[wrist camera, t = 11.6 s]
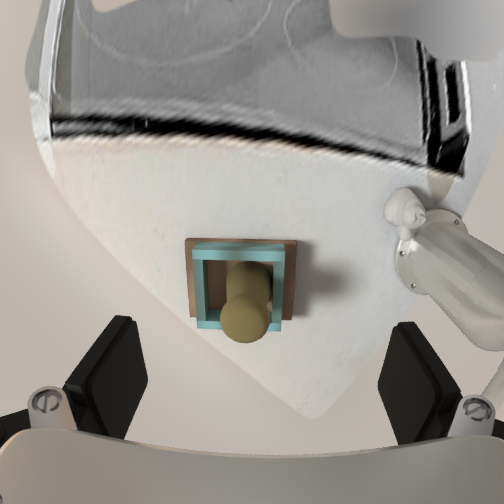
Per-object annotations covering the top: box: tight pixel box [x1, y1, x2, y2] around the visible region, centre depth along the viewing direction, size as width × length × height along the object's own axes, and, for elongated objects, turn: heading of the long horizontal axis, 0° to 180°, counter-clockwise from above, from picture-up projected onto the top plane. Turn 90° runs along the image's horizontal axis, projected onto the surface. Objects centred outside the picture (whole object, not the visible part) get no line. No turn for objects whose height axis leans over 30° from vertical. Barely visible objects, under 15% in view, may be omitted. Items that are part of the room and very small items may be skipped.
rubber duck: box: [384, 188, 427, 242], centre depth 35 cm, size 5×7×8 cm
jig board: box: [185, 238, 297, 331], centre depth 41 cm, size 14×11×4 cm
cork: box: [220, 261, 273, 343], centre depth 37 cm, size 6×6×11 cm
